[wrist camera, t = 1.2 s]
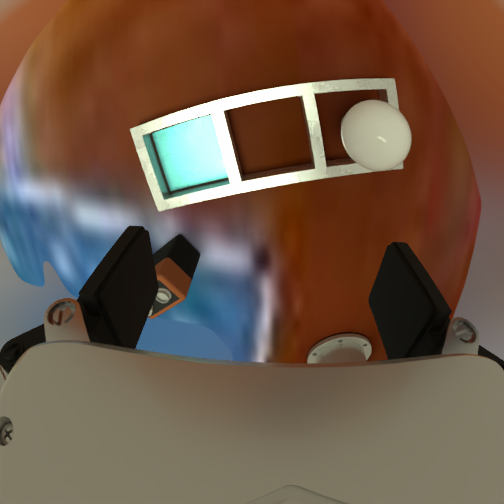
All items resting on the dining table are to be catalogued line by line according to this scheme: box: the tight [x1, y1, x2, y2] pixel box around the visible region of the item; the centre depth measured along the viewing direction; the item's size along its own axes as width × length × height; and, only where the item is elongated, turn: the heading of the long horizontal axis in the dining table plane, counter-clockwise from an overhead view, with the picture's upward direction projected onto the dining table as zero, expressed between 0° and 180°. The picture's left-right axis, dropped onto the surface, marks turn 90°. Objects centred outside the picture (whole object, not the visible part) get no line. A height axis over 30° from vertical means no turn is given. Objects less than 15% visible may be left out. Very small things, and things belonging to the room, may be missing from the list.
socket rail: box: [130, 78, 403, 211], centre depth 27 cm, size 10×29×2 cm, turn 103°
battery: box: [148, 235, 200, 319], centre depth 33 cm, size 4×7×10 cm, turn 128°
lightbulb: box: [341, 100, 411, 171], centre depth 22 cm, size 6×6×11 cm
